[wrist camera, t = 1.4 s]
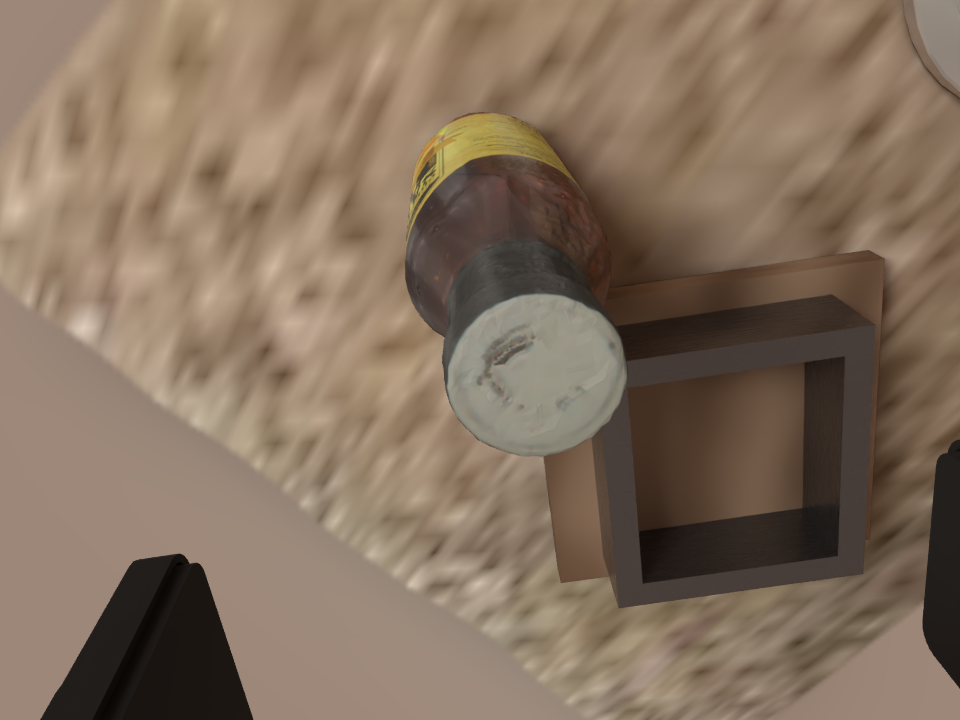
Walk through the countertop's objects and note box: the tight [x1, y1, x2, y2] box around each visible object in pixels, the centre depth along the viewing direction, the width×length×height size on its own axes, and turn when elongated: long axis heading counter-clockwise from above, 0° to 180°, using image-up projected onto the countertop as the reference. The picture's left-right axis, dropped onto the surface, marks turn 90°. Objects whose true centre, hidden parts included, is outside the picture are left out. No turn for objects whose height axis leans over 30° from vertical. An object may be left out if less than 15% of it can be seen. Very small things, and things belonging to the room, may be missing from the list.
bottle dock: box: [544, 250, 885, 608], centre depth 38 cm, size 16×15×6 cm
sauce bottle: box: [405, 112, 628, 456], centre depth 26 cm, size 7×6×20 cm
